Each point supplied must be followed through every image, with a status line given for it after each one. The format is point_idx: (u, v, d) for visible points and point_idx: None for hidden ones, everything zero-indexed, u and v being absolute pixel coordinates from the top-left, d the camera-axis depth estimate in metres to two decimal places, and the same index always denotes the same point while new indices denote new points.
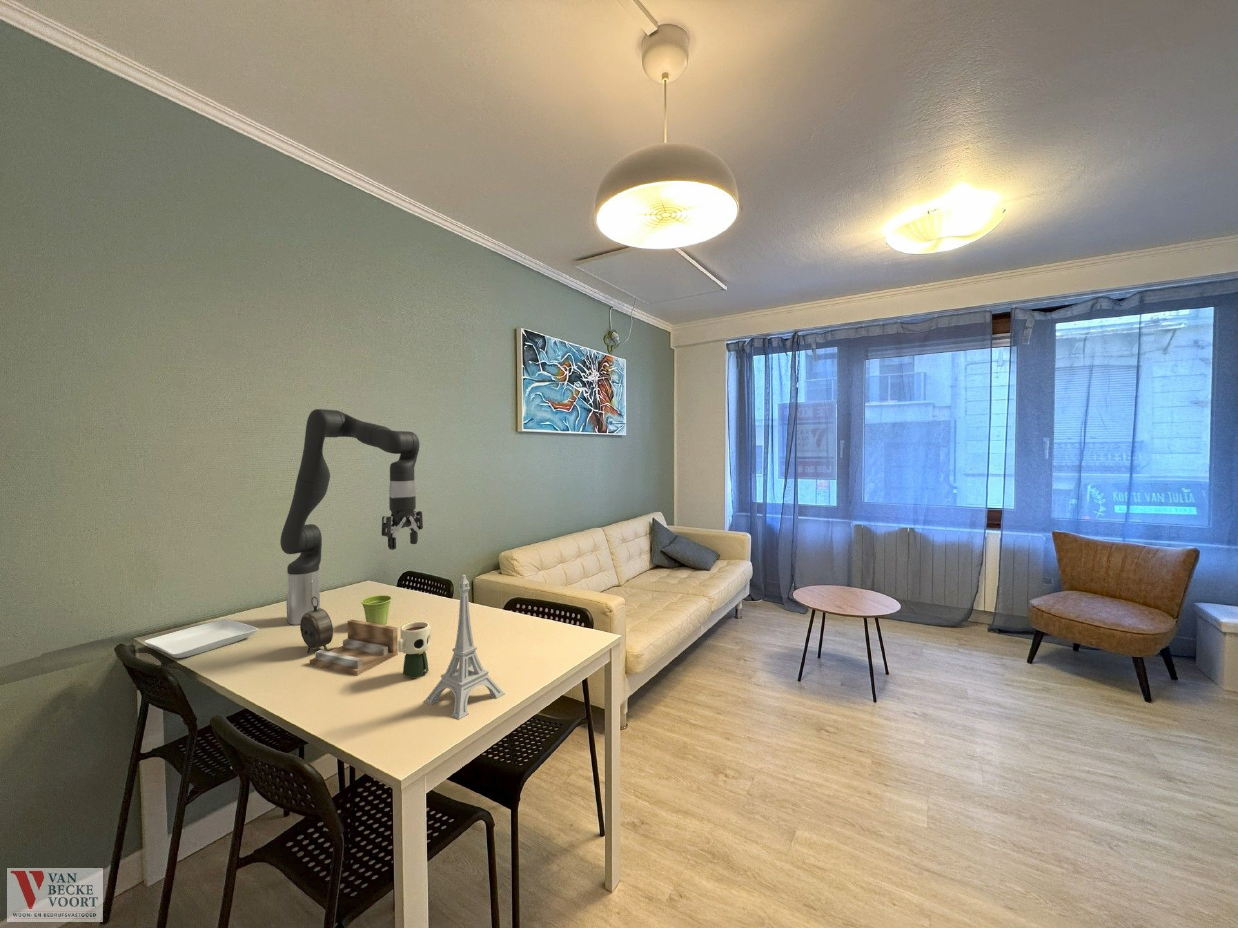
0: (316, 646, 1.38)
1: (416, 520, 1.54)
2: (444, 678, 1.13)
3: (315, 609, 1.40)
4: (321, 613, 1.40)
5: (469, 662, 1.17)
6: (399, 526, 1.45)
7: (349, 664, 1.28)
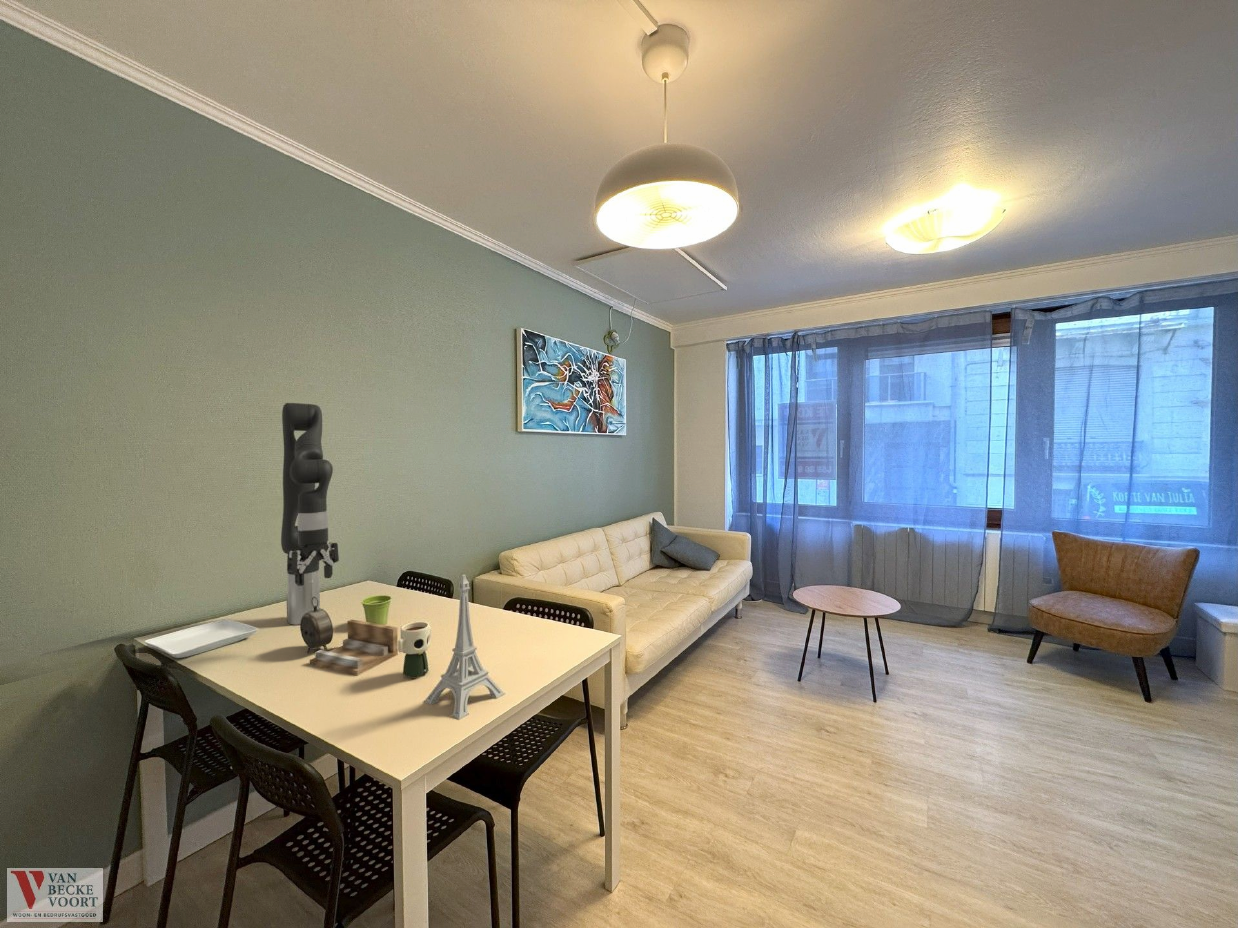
0: (316, 646, 1.38)
1: (331, 552, 1.46)
2: (444, 678, 1.13)
3: (315, 609, 1.40)
4: (321, 613, 1.40)
5: (469, 662, 1.17)
6: (307, 561, 1.37)
7: (349, 664, 1.28)
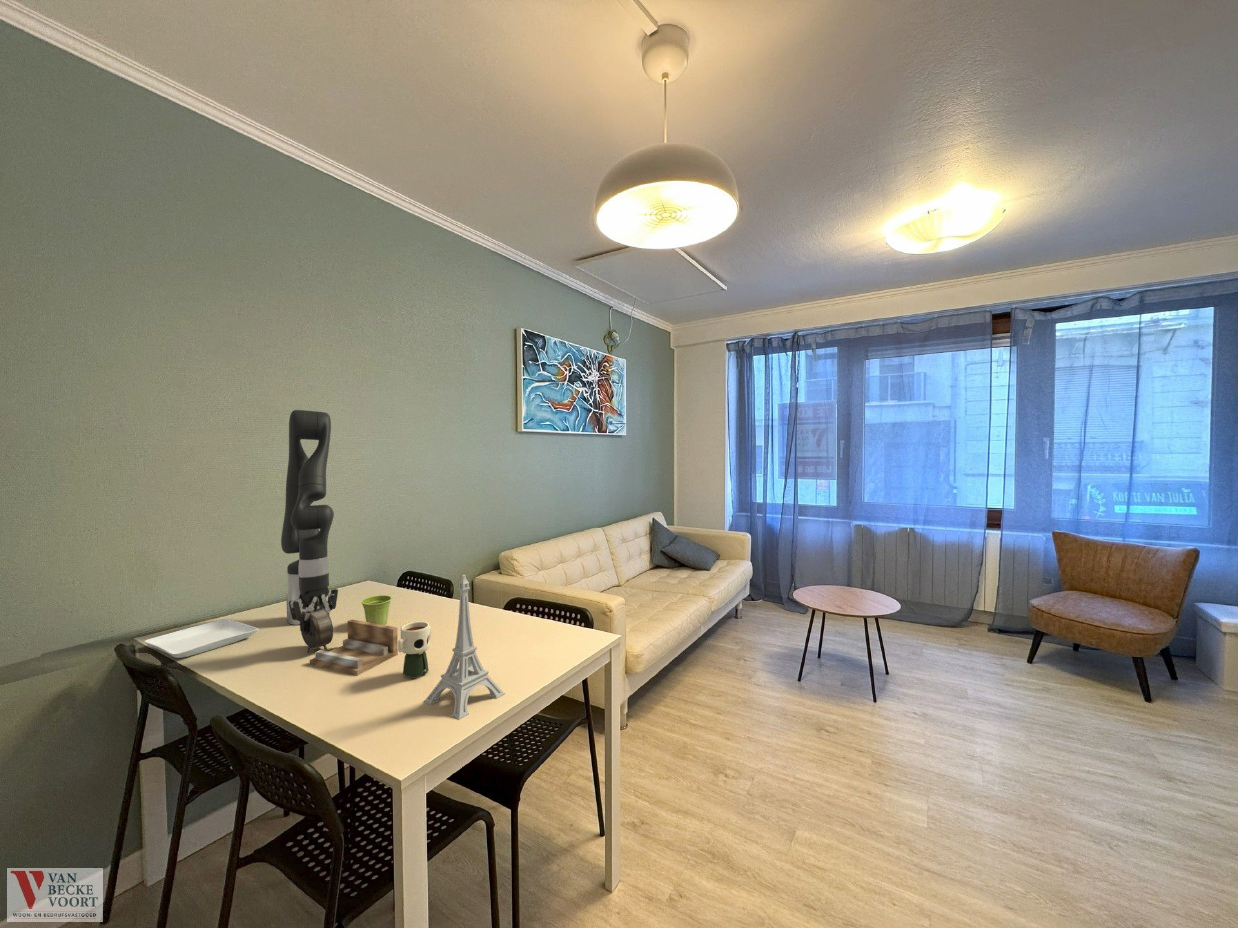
0: (316, 646, 1.38)
1: (330, 598, 1.45)
2: (444, 678, 1.13)
3: (315, 609, 1.40)
4: (322, 613, 1.40)
5: (469, 662, 1.17)
6: (310, 608, 1.38)
7: (349, 664, 1.28)
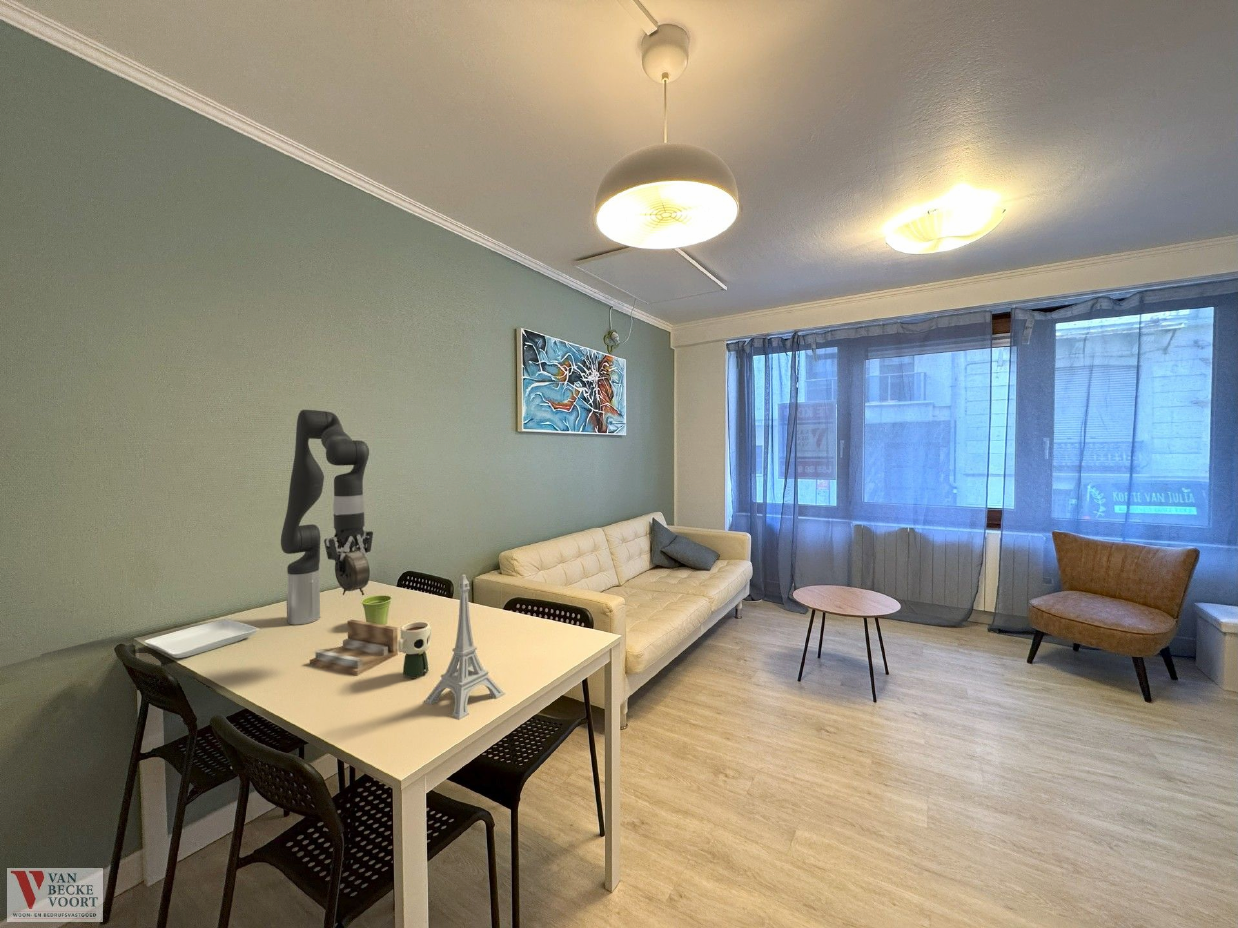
0: (352, 588, 1.31)
1: (365, 541, 1.38)
2: (444, 678, 1.13)
3: (351, 550, 1.33)
4: (358, 554, 1.33)
5: (469, 662, 1.17)
6: (346, 547, 1.30)
7: (349, 664, 1.28)
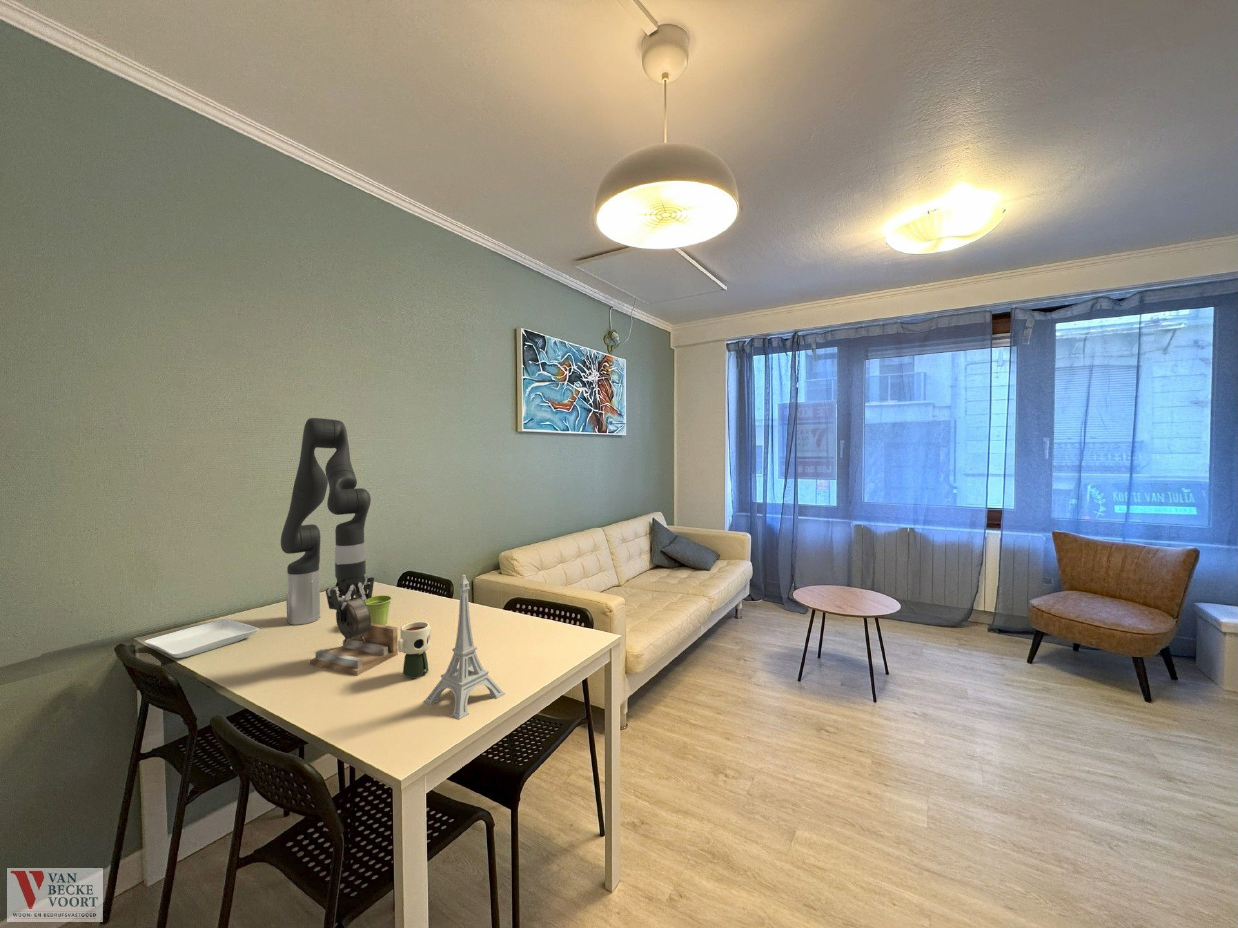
0: (353, 636, 1.31)
1: (366, 587, 1.39)
2: (444, 678, 1.13)
3: (352, 598, 1.34)
4: (359, 602, 1.33)
5: (469, 662, 1.17)
6: (347, 596, 1.31)
7: (349, 664, 1.28)
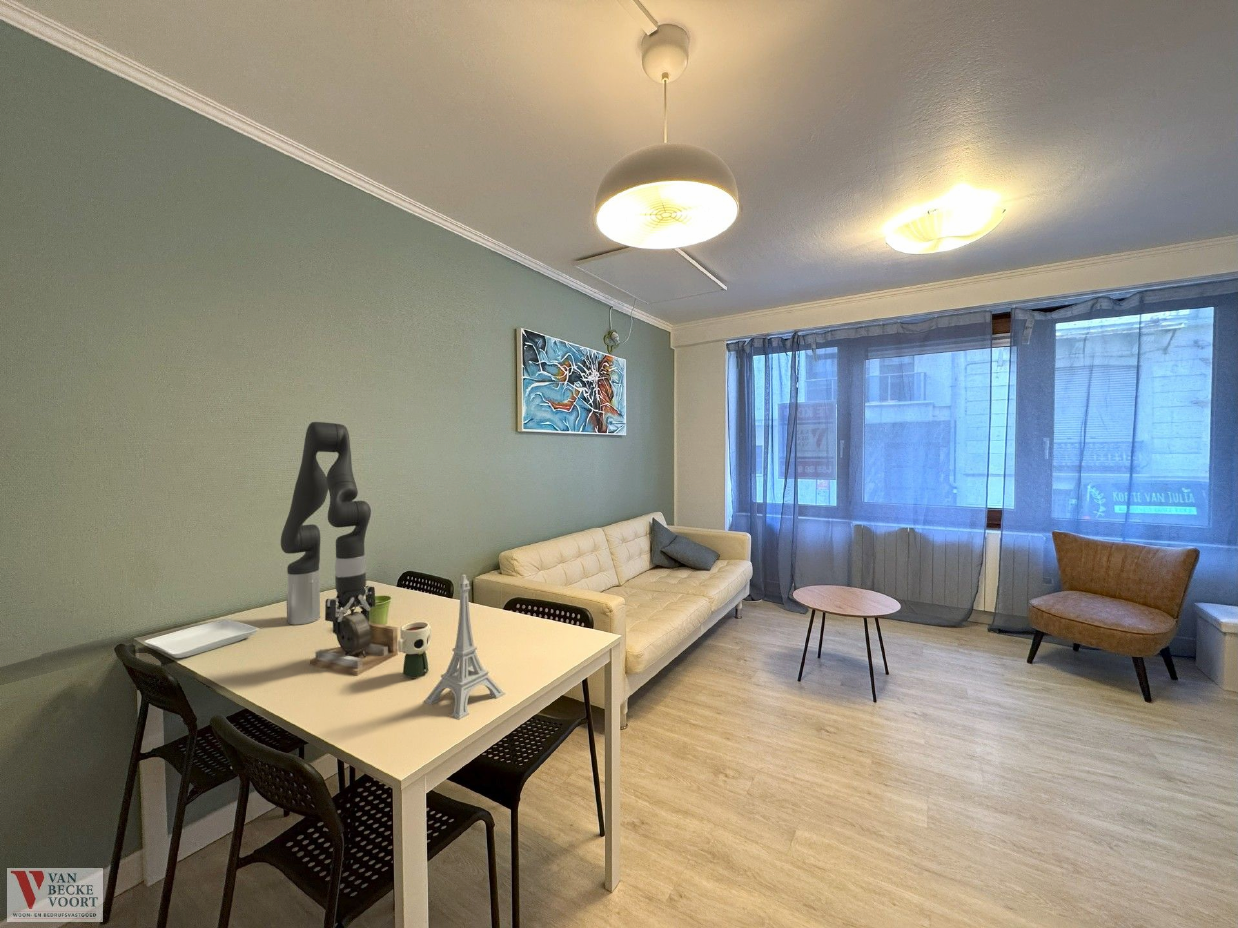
0: (354, 651, 1.32)
1: (368, 596, 1.39)
2: (444, 678, 1.13)
3: (352, 612, 1.34)
4: (359, 616, 1.34)
5: (469, 662, 1.17)
6: (346, 608, 1.30)
7: (349, 664, 1.28)
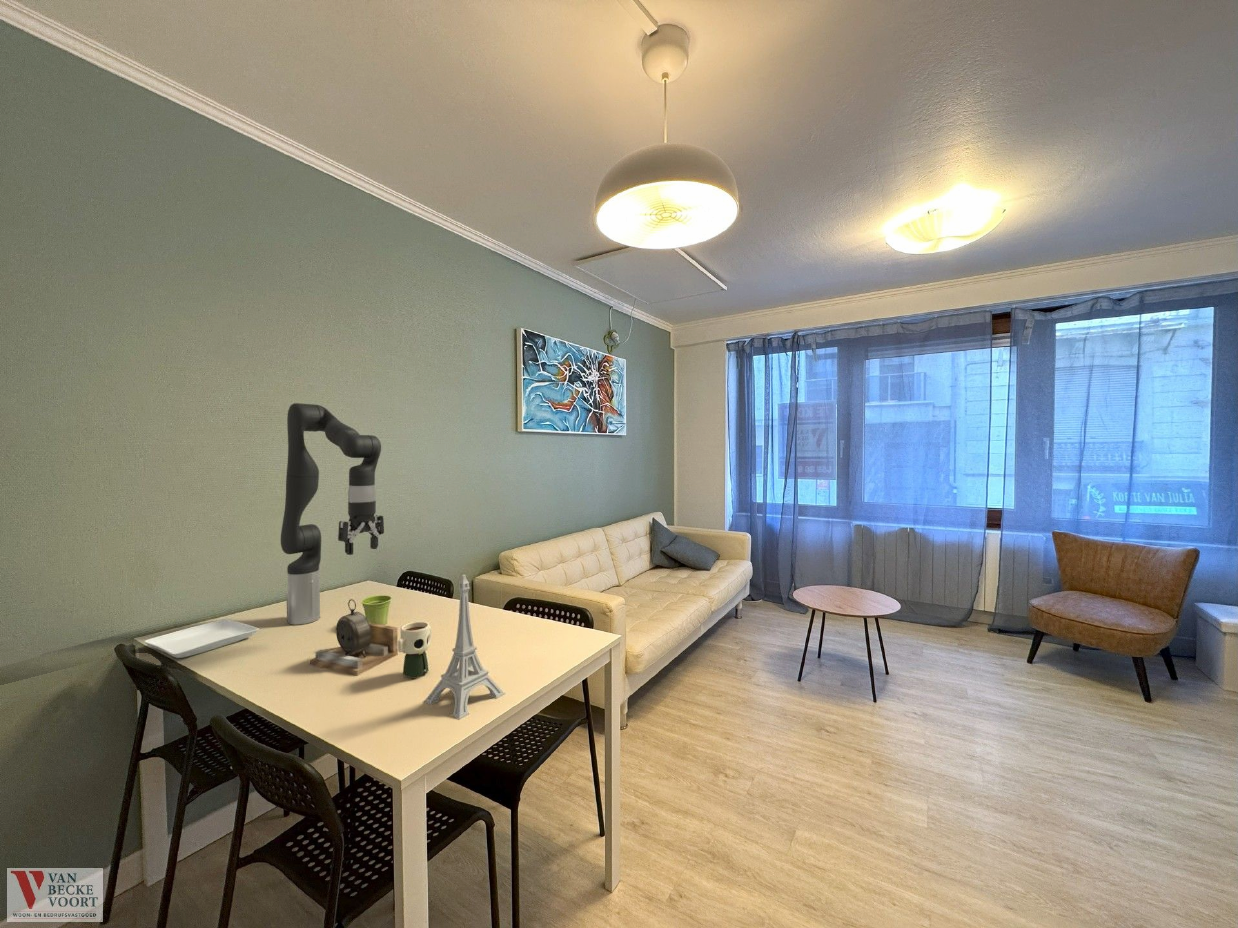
0: (354, 651, 1.32)
1: (377, 525, 1.52)
2: (444, 678, 1.13)
3: (352, 612, 1.34)
4: (359, 616, 1.34)
5: (469, 662, 1.17)
6: (357, 531, 1.43)
7: (349, 664, 1.28)
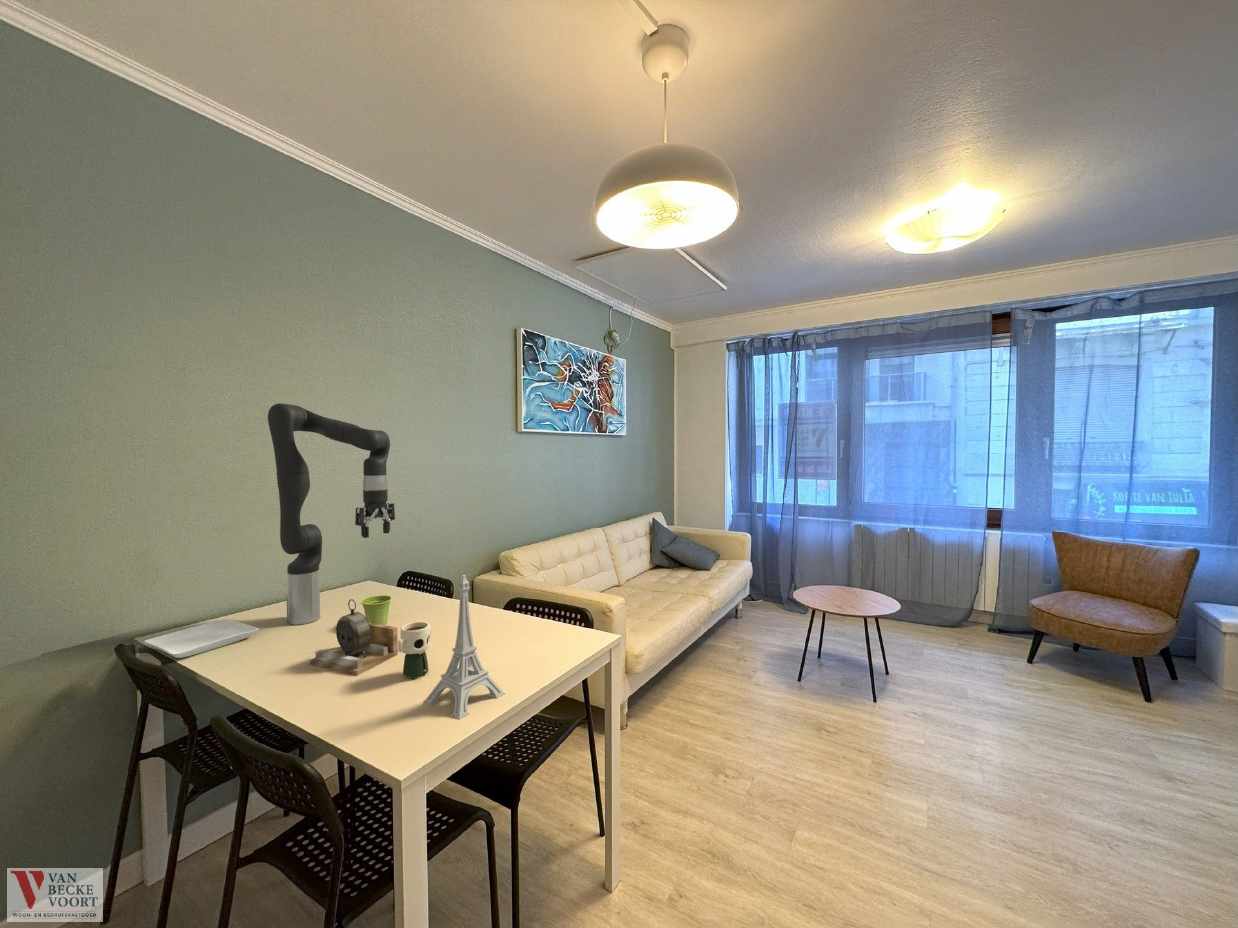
0: (354, 651, 1.32)
1: (389, 511, 1.68)
2: (444, 678, 1.13)
3: (352, 612, 1.34)
4: (359, 616, 1.34)
5: (469, 662, 1.17)
6: (372, 516, 1.59)
7: (349, 664, 1.28)
